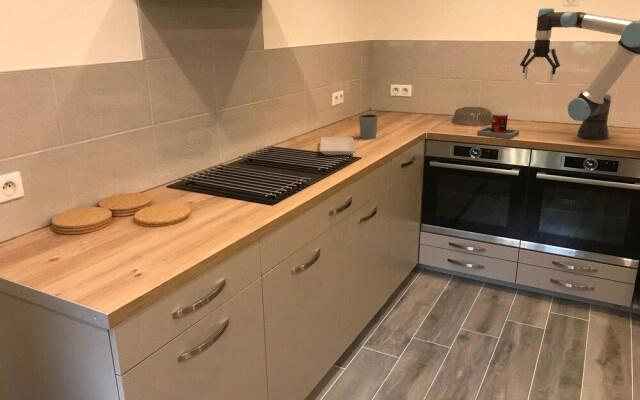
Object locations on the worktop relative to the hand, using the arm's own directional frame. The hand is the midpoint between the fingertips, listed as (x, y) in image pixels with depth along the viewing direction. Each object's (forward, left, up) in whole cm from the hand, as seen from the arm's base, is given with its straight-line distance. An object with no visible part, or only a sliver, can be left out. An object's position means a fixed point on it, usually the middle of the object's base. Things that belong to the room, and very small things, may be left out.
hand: (537, 80), depth 286 cm
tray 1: (+63, +98, -29) cm, 120 cm away
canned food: (+12, +19, -28) cm, 36 cm away
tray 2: (+12, +19, -29) cm, 36 cm away
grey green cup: (+66, +66, -29) cm, 98 cm away
